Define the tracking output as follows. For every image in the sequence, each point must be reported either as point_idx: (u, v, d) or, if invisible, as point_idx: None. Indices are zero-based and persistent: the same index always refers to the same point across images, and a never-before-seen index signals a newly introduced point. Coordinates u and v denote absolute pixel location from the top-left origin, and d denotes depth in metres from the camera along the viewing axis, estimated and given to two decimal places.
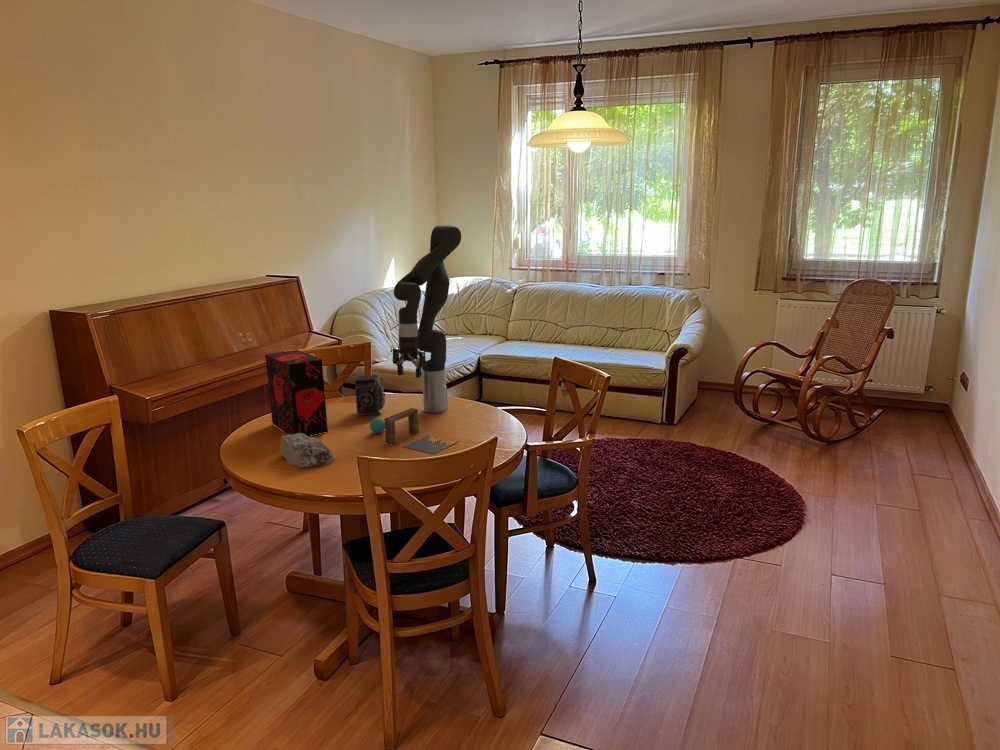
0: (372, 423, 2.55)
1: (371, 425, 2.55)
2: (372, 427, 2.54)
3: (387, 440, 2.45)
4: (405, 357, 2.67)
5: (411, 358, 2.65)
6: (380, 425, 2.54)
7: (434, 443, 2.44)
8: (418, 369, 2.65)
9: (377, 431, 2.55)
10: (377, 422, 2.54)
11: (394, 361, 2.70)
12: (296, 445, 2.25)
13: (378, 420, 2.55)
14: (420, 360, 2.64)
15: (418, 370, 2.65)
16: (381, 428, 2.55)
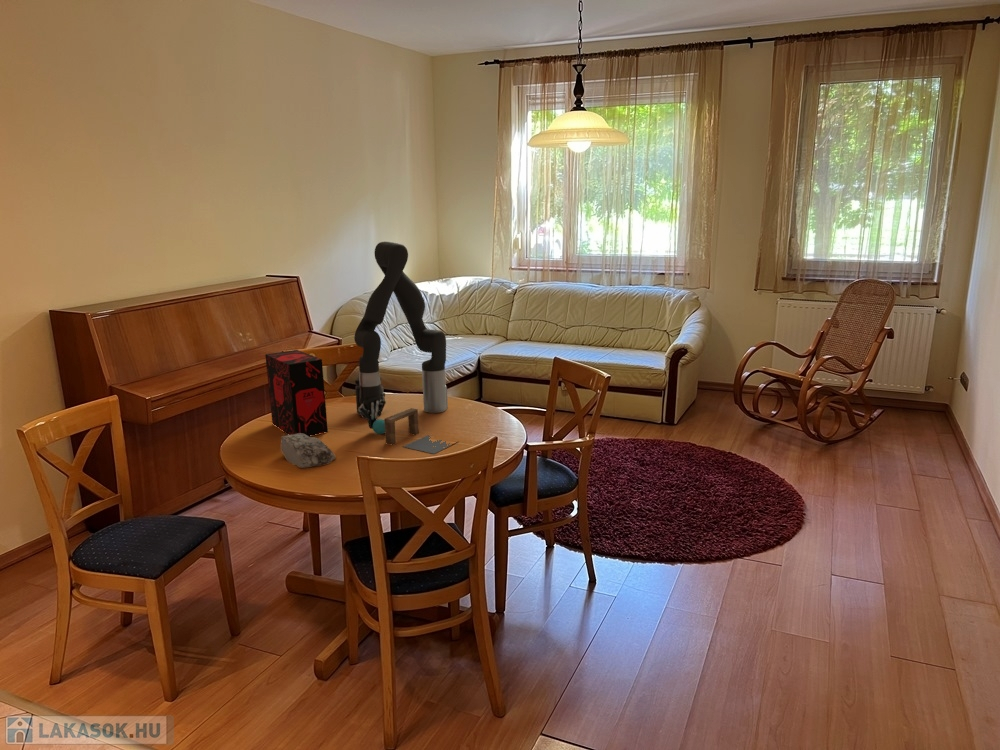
0: (376, 424, 2.53)
1: (374, 426, 2.54)
2: (375, 428, 2.53)
3: (387, 440, 2.45)
4: None
5: (377, 407, 2.56)
6: (383, 428, 2.54)
7: (434, 443, 2.44)
8: (375, 419, 2.58)
9: (379, 433, 2.54)
10: (381, 424, 2.53)
11: (368, 416, 2.54)
12: (297, 445, 2.25)
13: (382, 422, 2.54)
14: (381, 409, 2.59)
15: (375, 420, 2.58)
16: (383, 431, 2.54)
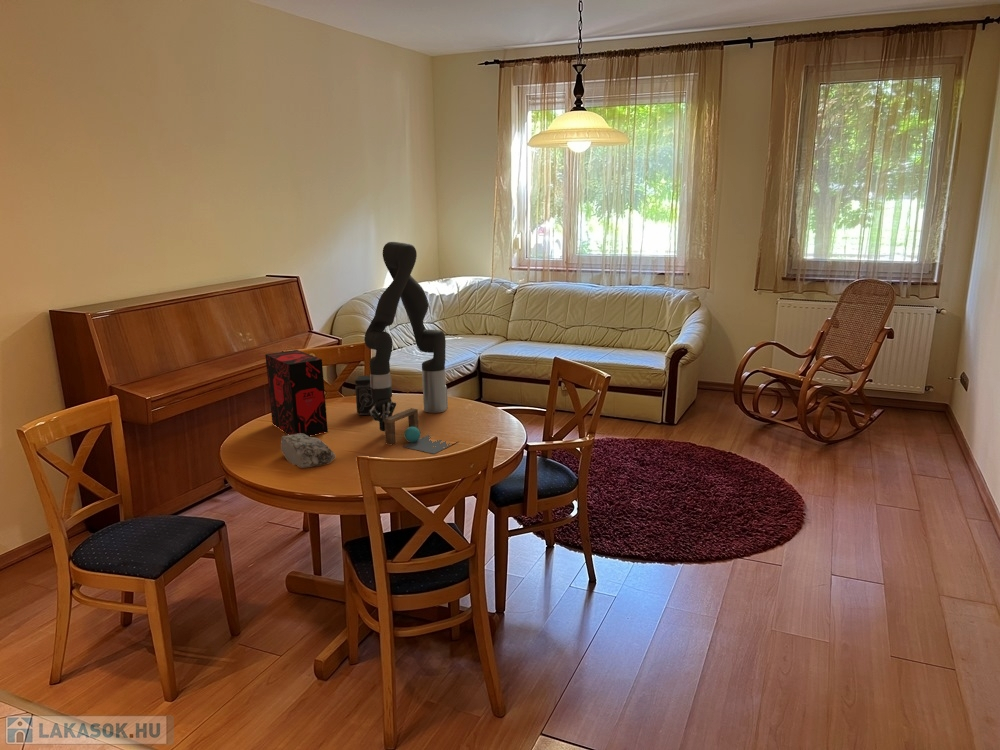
0: (406, 432, 2.45)
1: (406, 434, 2.44)
2: (407, 436, 2.44)
3: (387, 440, 2.45)
4: None
5: (388, 409, 2.53)
6: (414, 431, 2.44)
7: (434, 443, 2.44)
8: None
9: (414, 438, 2.44)
10: (410, 429, 2.44)
11: (380, 418, 2.51)
12: (298, 445, 2.25)
13: (411, 427, 2.45)
14: (392, 411, 2.56)
15: None
16: (416, 434, 2.44)
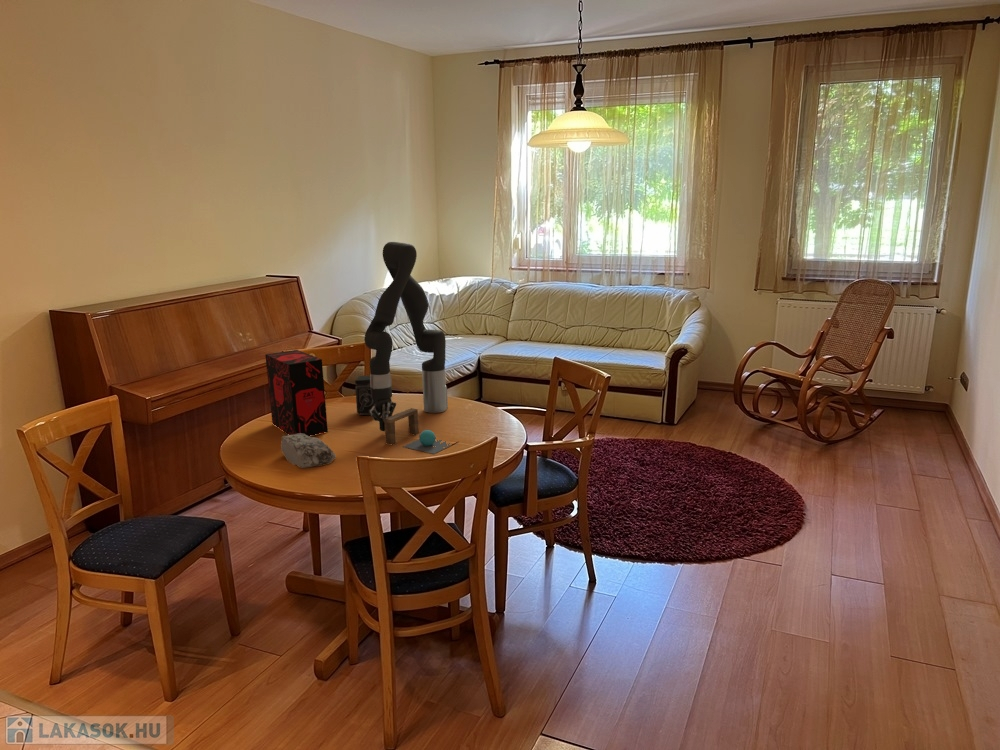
0: (425, 442, 2.40)
1: (424, 440, 2.40)
2: (422, 441, 2.40)
3: (387, 440, 2.45)
4: None
5: (388, 409, 2.53)
6: None
7: (434, 443, 2.44)
8: None
9: None
10: (427, 445, 2.41)
11: (380, 418, 2.51)
12: (298, 445, 2.25)
13: (429, 445, 2.42)
14: (392, 411, 2.56)
15: None
16: None
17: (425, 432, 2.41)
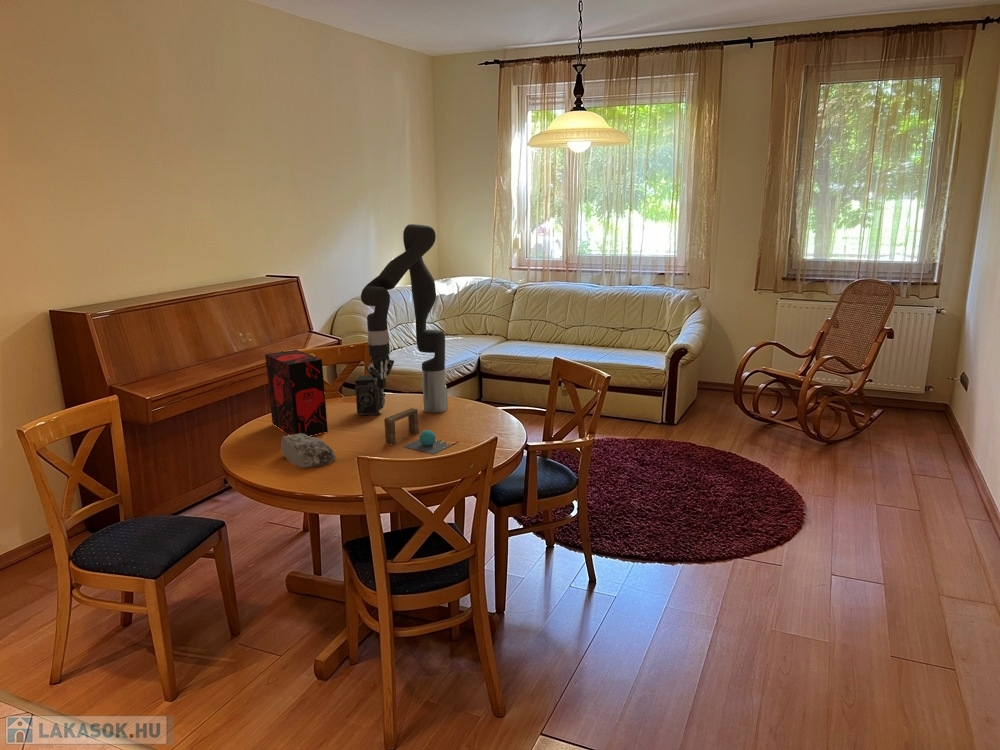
0: (425, 442, 2.40)
1: (424, 440, 2.40)
2: (422, 441, 2.40)
3: (387, 440, 2.45)
4: None
5: (386, 366, 2.52)
6: None
7: (434, 443, 2.44)
8: (384, 379, 2.54)
9: None
10: (427, 445, 2.41)
11: (378, 375, 2.50)
12: (299, 445, 2.25)
13: (429, 445, 2.42)
14: (390, 368, 2.55)
15: (384, 380, 2.54)
16: None
17: (425, 432, 2.41)
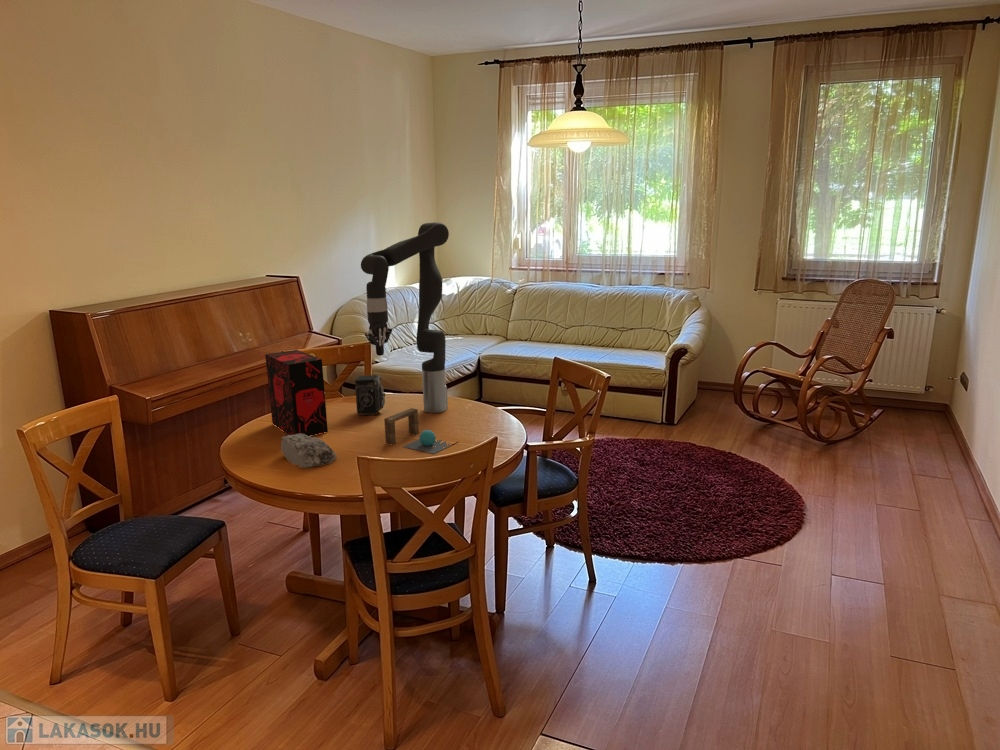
0: (425, 442, 2.40)
1: (424, 440, 2.40)
2: (422, 441, 2.40)
3: (387, 440, 2.45)
4: (380, 331, 2.59)
5: (384, 333, 2.60)
6: None
7: (434, 443, 2.44)
8: (383, 346, 2.62)
9: None
10: (427, 445, 2.41)
11: (376, 342, 2.58)
12: (299, 445, 2.25)
13: (429, 445, 2.42)
14: (388, 336, 2.63)
15: (383, 347, 2.62)
16: None
17: (425, 432, 2.41)
